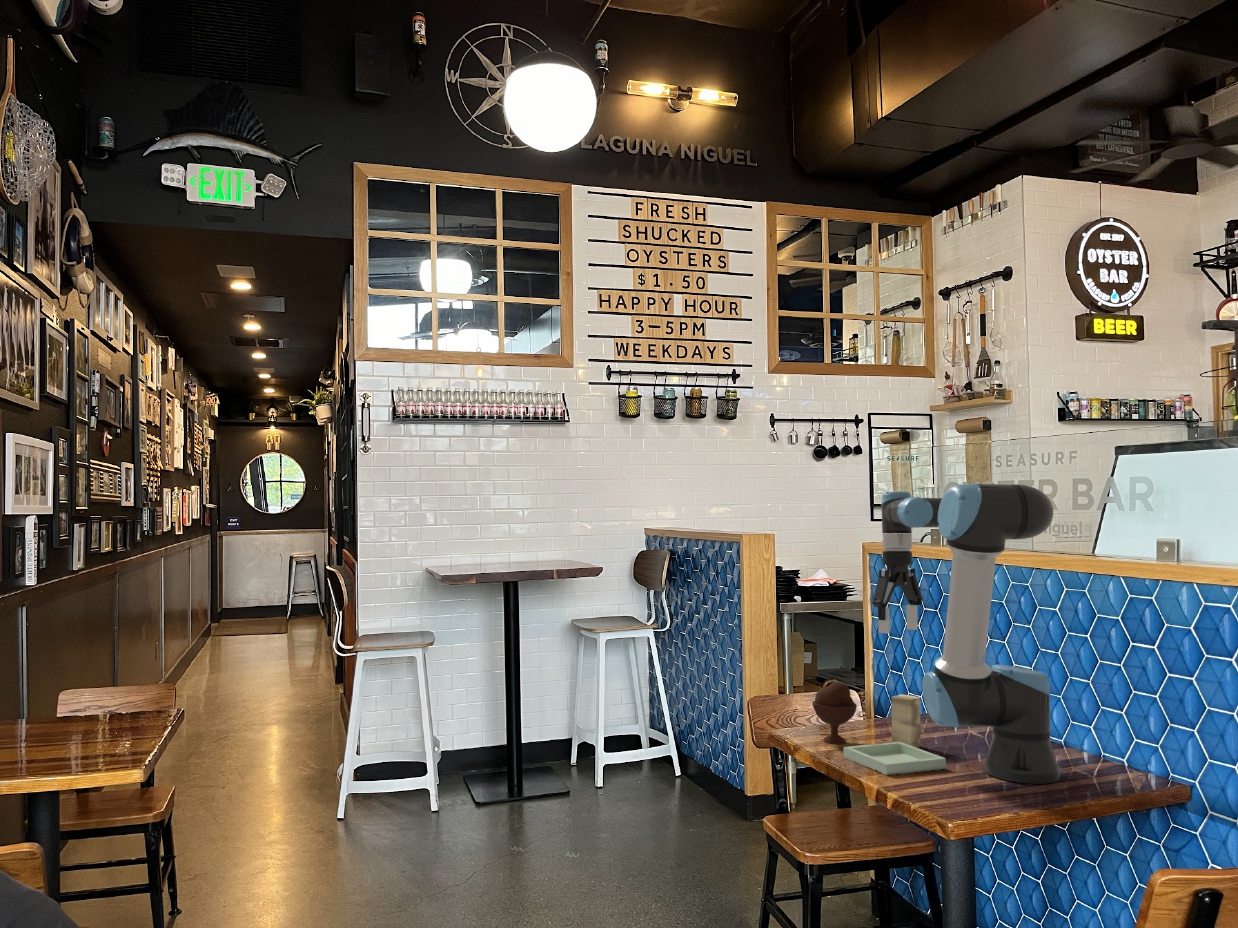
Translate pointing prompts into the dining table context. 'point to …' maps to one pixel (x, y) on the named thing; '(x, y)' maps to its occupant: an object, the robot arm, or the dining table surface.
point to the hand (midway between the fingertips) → (898, 631)
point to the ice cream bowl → (834, 708)
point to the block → (906, 720)
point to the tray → (894, 758)
